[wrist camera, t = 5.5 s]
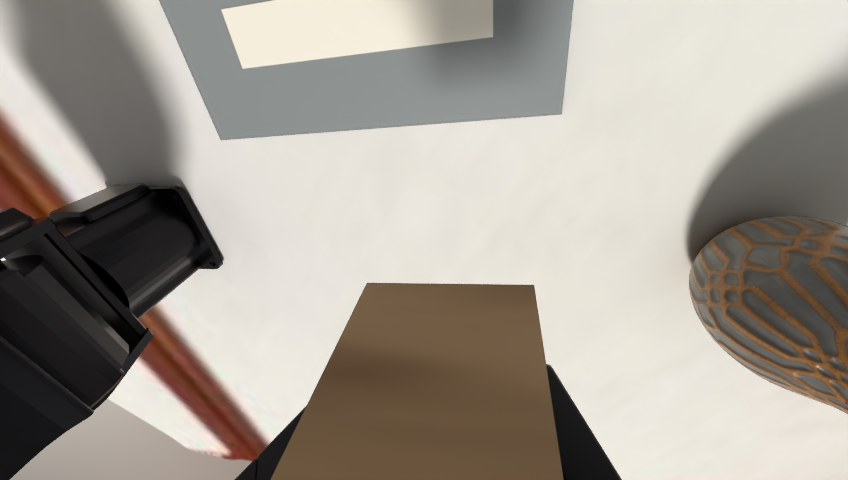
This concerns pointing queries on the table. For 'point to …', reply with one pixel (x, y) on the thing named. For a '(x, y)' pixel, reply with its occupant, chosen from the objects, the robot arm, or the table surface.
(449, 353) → the walnut block
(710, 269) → the vase
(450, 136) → the table surface
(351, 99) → the letter board
